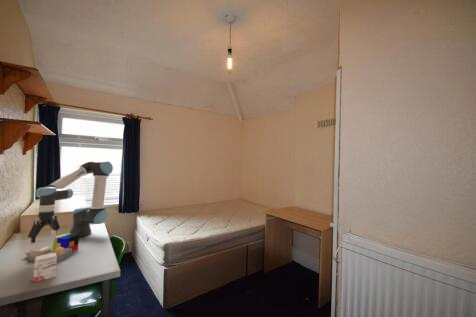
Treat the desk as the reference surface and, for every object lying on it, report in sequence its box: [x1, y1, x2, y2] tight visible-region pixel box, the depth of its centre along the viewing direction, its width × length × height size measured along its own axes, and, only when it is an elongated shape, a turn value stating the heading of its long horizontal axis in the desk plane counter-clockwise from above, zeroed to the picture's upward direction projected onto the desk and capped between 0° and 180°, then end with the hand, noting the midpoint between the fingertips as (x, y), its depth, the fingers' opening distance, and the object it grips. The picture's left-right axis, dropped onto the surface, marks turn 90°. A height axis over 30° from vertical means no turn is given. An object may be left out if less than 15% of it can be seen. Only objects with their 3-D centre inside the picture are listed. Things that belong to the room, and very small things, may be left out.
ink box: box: [32, 253, 58, 283], centre depth 111 cm, size 9×5×12 cm, turn 139°
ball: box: [53, 247, 65, 256], centre depth 134 cm, size 6×6×6 cm
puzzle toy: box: [51, 232, 80, 252], centre depth 145 cm, size 10×10×10 cm
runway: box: [27, 246, 73, 263], centre depth 134 cm, size 10×20×6 cm, turn 91°
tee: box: [24, 250, 36, 259], centre depth 134 cm, size 4×4×3 cm
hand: (44, 243), depth 134 cm, fingers open, 13 cm apart
